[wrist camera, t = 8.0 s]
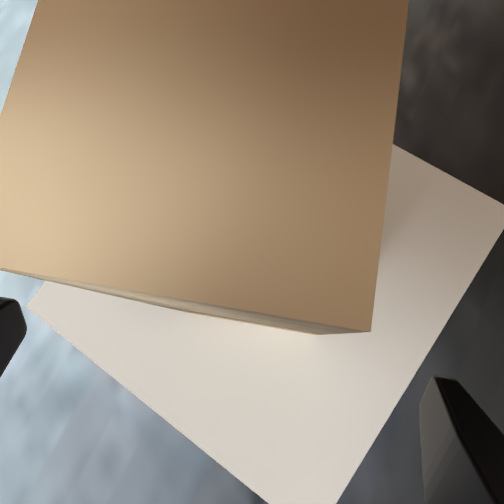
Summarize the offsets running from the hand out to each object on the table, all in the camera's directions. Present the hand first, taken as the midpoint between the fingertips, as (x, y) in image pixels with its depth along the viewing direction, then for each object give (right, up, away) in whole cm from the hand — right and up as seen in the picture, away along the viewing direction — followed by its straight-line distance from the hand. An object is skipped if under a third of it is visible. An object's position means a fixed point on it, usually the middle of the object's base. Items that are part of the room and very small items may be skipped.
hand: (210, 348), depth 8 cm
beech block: (+1, +2, +7) cm, 8 cm away
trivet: (+1, +2, +8) cm, 8 cm away
